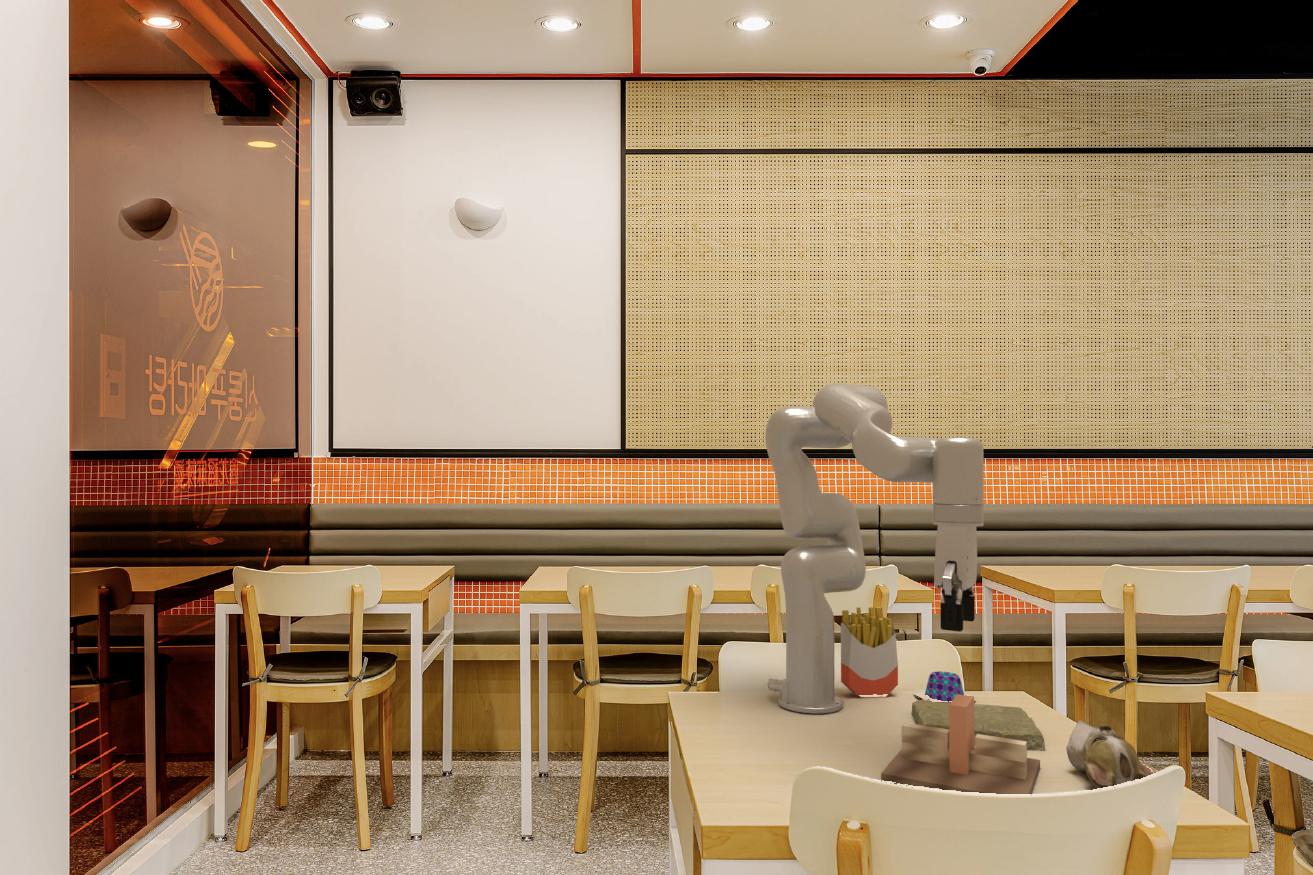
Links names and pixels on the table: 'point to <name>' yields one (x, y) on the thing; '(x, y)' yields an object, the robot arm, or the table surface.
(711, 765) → the table surface
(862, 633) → the french fries container
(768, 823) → the table surface
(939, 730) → the slotted stand
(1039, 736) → the decorative tile
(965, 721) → the notched plate
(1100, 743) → the ceramic sculpture
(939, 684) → the pudding
